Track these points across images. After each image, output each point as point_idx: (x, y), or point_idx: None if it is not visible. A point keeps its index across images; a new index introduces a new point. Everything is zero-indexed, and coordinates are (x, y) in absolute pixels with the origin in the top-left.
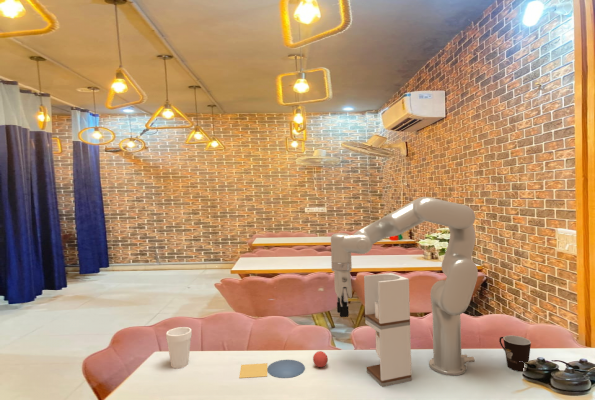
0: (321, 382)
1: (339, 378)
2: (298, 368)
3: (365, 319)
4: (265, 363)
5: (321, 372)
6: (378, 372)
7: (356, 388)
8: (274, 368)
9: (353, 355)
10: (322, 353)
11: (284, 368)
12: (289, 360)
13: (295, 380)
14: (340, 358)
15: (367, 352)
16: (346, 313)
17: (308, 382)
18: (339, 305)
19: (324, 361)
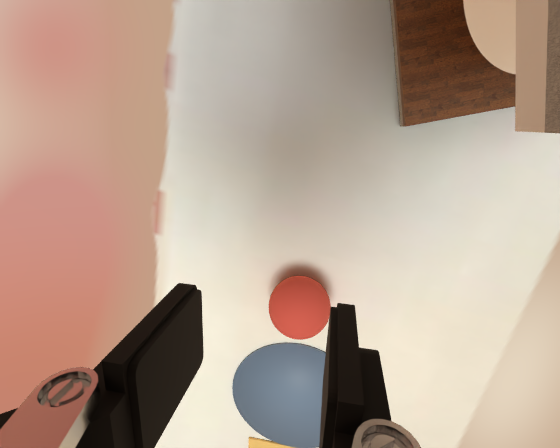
0: (424, 319)
1: (416, 251)
2: (305, 365)
3: (552, 130)
4: (249, 443)
5: (349, 300)
6: (482, 84)
7: (518, 212)
8: (289, 428)
9: (227, 135)
10: (307, 316)
11: (295, 403)
12: (239, 377)
13: None
14: (248, 199)
15: (205, 55)
16: (378, 361)
17: (410, 357)
18: (163, 407)
19: (328, 299)
